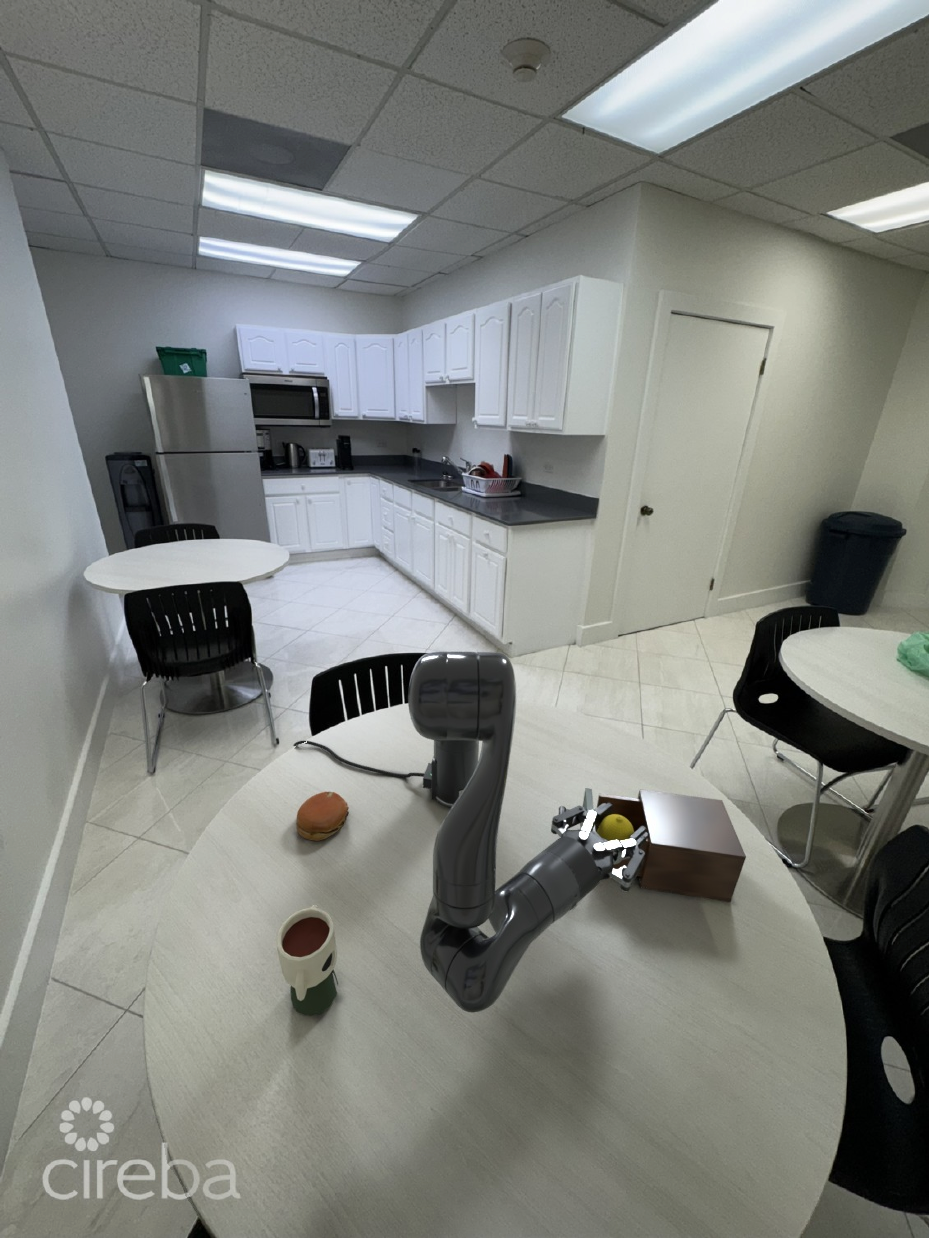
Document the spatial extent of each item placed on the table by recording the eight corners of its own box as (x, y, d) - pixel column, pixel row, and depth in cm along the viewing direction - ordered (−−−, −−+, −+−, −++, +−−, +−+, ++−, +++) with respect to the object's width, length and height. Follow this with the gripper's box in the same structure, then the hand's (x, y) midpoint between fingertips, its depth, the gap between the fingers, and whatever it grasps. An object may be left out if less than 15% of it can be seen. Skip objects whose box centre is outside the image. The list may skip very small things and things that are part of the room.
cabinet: (640, 887, 85) (651, 842, 81) (630, 831, 96) (639, 789, 92) (730, 902, 83) (746, 856, 78) (709, 842, 94) (722, 799, 90)
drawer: (555, 867, 87) (560, 830, 84) (555, 819, 98) (560, 784, 94) (662, 884, 85) (672, 847, 81) (651, 832, 95) (659, 797, 91)
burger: (294, 844, 92) (291, 825, 90) (301, 807, 100) (299, 789, 98) (348, 839, 93) (346, 820, 91) (351, 803, 101) (349, 785, 100)
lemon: (625, 843, 80) (634, 805, 76) (633, 873, 74) (642, 834, 71) (591, 839, 80) (598, 802, 77) (596, 869, 75) (603, 830, 72)
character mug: (335, 1037, 64) (326, 974, 59) (279, 1042, 63) (265, 979, 58) (346, 952, 74) (339, 892, 69) (297, 955, 73) (287, 895, 68)
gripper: (604, 898, 60) (675, 829, 70) (519, 825, 70) (592, 775, 80) (596, 938, 63) (665, 867, 73) (516, 863, 73) (586, 810, 83)
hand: (626, 819), depth 76 cm, fingers closed on lemon, 5 cm apart
